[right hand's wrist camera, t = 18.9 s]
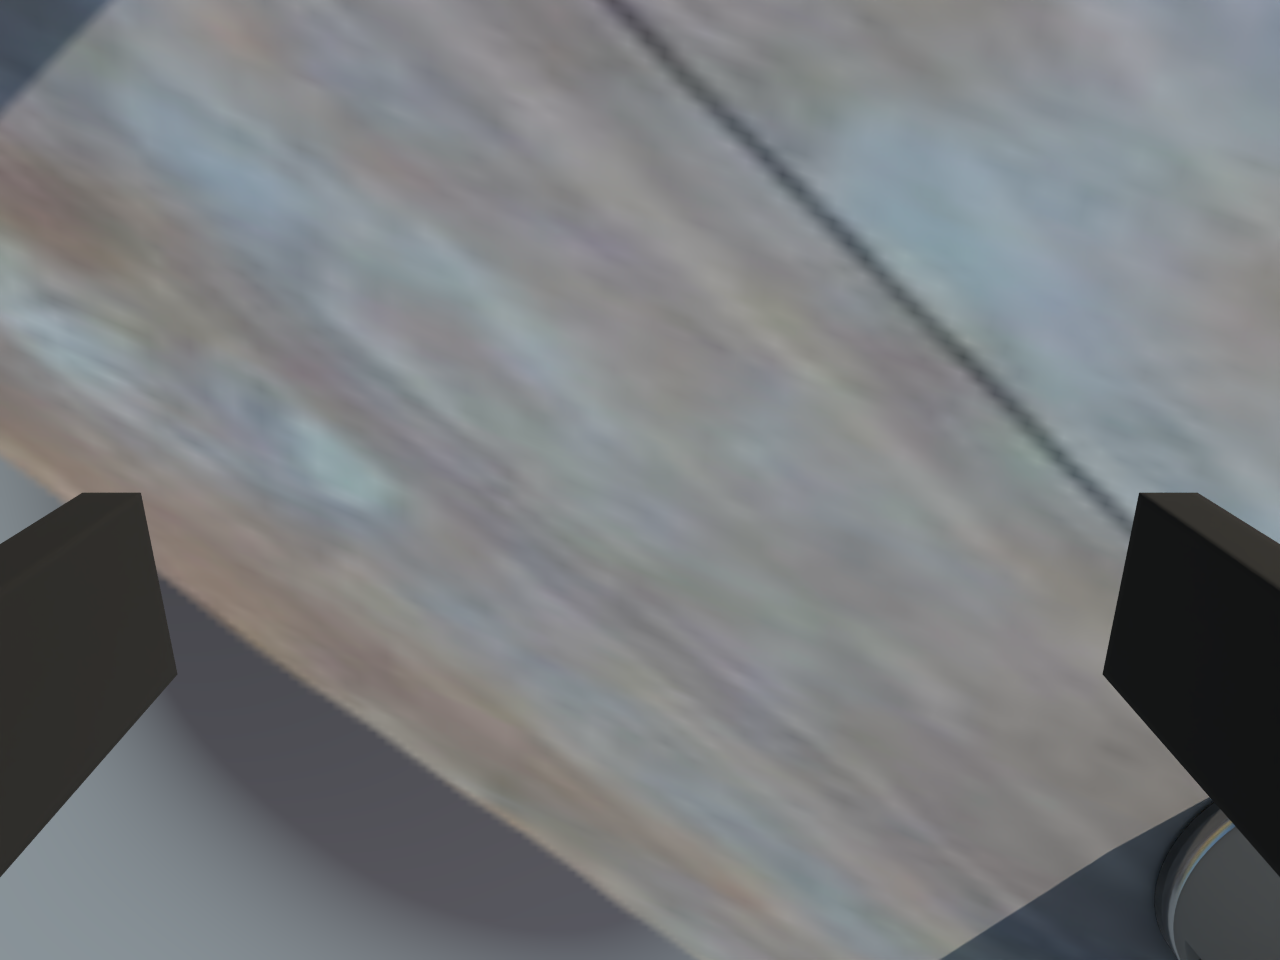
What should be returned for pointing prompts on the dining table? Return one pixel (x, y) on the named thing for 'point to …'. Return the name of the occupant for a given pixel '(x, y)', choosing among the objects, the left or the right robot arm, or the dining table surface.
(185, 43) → the dining table surface
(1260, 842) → the right robot arm
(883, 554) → the dining table surface
